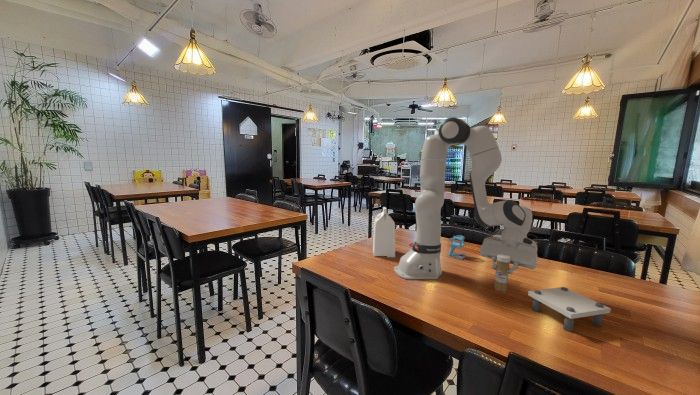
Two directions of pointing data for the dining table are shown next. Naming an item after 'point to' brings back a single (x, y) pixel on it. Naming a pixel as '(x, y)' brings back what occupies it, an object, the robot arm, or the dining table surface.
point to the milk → (384, 235)
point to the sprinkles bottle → (502, 272)
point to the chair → (456, 244)
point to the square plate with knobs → (569, 305)
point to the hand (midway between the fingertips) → (501, 270)
